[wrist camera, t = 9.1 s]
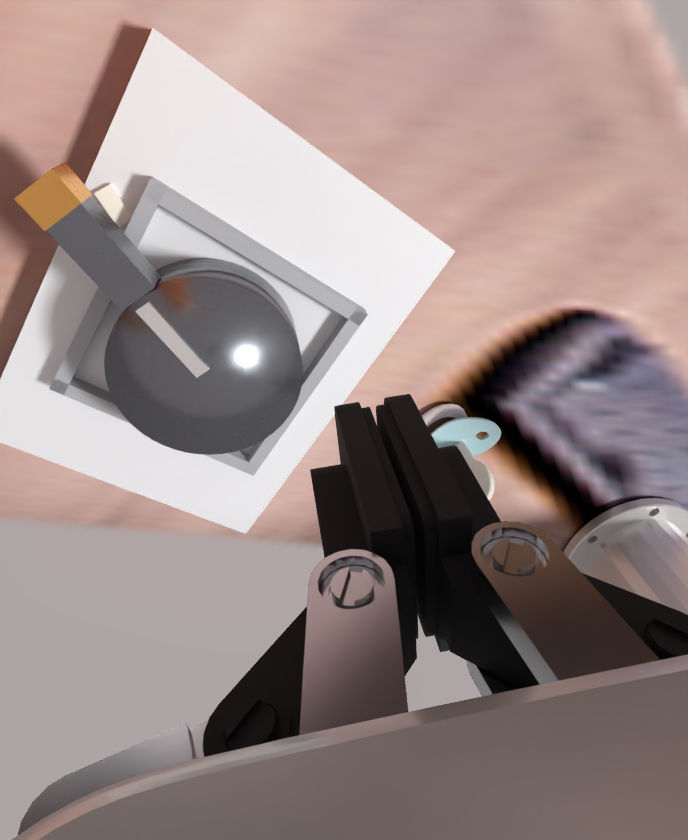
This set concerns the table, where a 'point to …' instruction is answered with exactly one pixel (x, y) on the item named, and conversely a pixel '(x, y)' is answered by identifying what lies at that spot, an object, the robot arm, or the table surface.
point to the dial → (179, 330)
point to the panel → (227, 240)
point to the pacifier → (465, 439)
